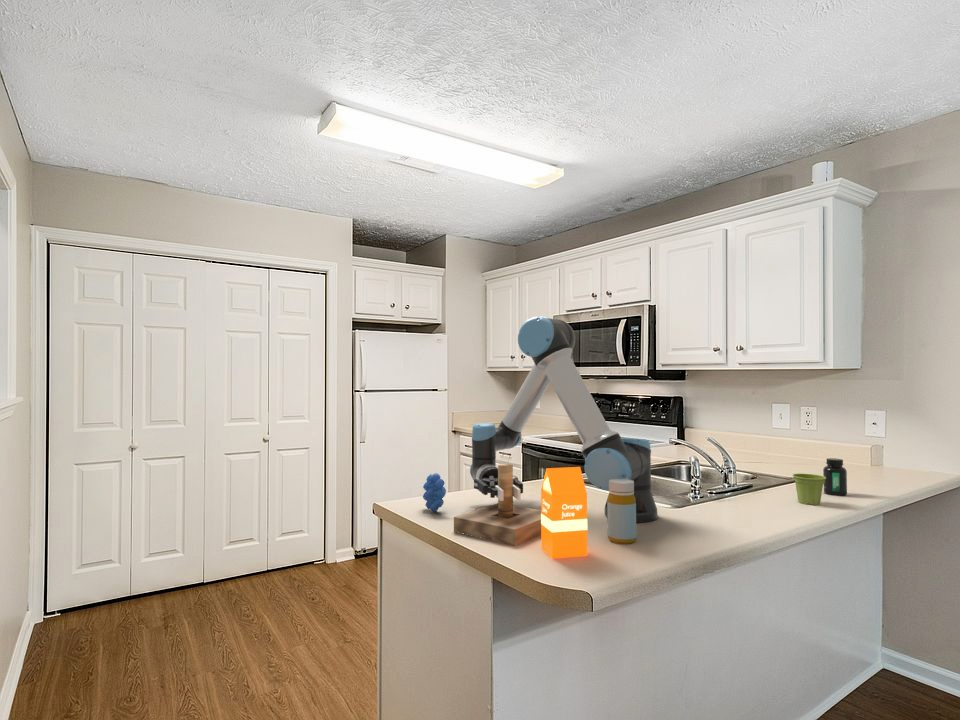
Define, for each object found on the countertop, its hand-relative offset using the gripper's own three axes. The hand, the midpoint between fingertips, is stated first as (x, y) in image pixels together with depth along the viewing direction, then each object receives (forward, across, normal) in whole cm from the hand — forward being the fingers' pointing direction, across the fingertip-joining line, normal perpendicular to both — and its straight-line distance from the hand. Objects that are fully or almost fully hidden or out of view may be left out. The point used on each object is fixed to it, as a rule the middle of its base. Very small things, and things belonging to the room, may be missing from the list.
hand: (510, 495), depth 149 cm
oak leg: (-5, 0, -9) cm, 10 cm away
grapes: (-30, +16, -11) cm, 36 cm away
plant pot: (-13, -103, -11) cm, 104 cm away
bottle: (+10, -26, -11) cm, 30 cm away
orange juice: (+16, -9, -11) cm, 21 cm away
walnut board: (-5, 0, -10) cm, 12 cm away
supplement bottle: (-22, -122, -11) cm, 124 cm away
